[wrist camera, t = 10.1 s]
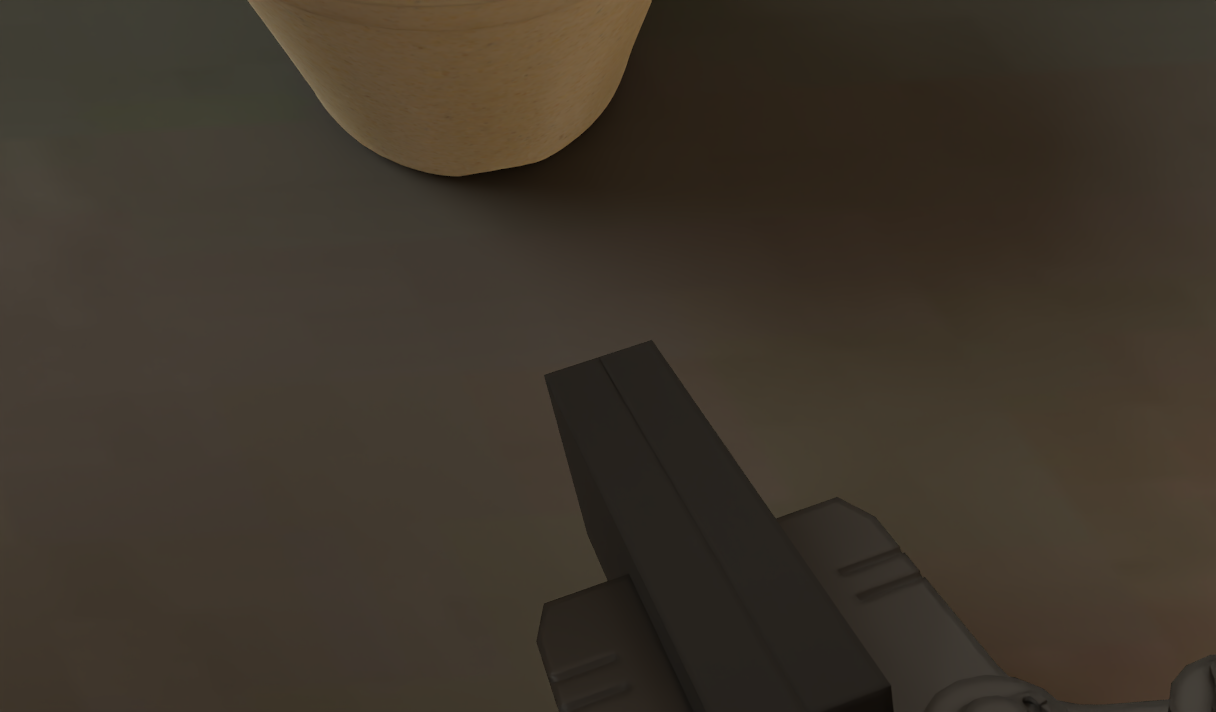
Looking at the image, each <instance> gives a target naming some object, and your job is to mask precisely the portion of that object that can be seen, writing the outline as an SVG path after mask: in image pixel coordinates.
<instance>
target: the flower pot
mask: <svg viewBox="0 0 1216 712" xmlns="http://www.w3.org/2000/svg"><path fill="white" fill-rule="evenodd" d="M247 1H248V2H249V3H250V5H251V6H252V7H253V9H254V10H255V11H256V13H257V14H258V15H259V17H260V18H261V19H262V21H263V22H264V23H265V25H266V26H267V27H268V29H269V30H270V31H271V33H272V34H273V35H274V37H275V38H276V40H277V41H278V42H279V44H280V45H281V46H282V48H283V49H284V50H285V52H286V53H287V55H288V56H289V57H290V59H291V60H292V62H293V63H294V64H295V66H296V67H297V69H298V70H299V71H300V73H301V74H302V76H303V77H304V78H305V80H306V81H307V82H308V84H309V85H310V86H311V88H312V89H313V91H314V92H315V94H316V96H317V97H318V99H319V100H320V102H321V103H322V105H323V106H324V107H325V109H326V110H327V111H328V113H329V114H330V115H331V116H332V117H333V118H334V119H335V120H336V122H337V123H338V124H339V125H340V126H341V127H342V128H343V129H344V130H345V131H346V132H347V133H349V134H350V135H351V136H352V137H354V138H355V139H356V140H357V141H358V142H360V143H361V144H363V145H364V146H366V147H367V148H369V149H370V150H372V151H374V152H375V153H377V154H379V155H380V156H383V157H385V158H387V159H389V160H392V161H394V162H396V163H398V164H400V165H403V166H406V167H409V168H412V169H416V170H419V171H423V172H427V173H432V174H438V175H444V176H464V175H470V174H476V173H482V172H489V171H494V170H499V169H505V168H511V167H517V166H522V165H526V164H531V163H536V162H539V161H541V160H544V159H546V158H548V157H549V156H551V155H553V154H555V153H556V152H558V151H560V150H561V149H563V148H564V147H565V146H567V145H568V144H570V143H571V142H572V141H573V140H575V139H576V138H577V137H579V136H580V135H581V134H582V133H583V132H584V131H585V130H586V129H588V128H589V127H590V126H591V125H592V124H593V122H594V121H595V120H596V119H597V118H598V117H599V116H600V115H601V113H602V112H603V111H604V109H605V108H606V107H607V105H608V104H609V102H610V101H611V99H612V97H613V96H614V94H615V92H616V90H617V88H618V86H619V83H620V81H621V78H622V76H623V73H624V71H625V68H626V65H627V62H628V59H629V56H630V53H631V50H632V48H633V45H634V42H635V40H636V38H637V35H638V33H639V30H640V28H641V26H642V23H643V21H644V19H645V16H646V14H647V11H648V9H649V7H650V4H651V2H652V0H247Z"/></svg>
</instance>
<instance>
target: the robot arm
mask: <svg viewBox="0 0 1216 712" xmlns="http://www.w3.org/2000/svg"><path fill="white" fill-rule="evenodd" d="M544 376H545V380H546V384H547V387H548V391H549V395H550V398H551V402H552V406H553V409H554V413H555V417H556V420H557V424H558V428H559V431H560V435H561V439H562V442H563V446H564V450H565V453H566V457H567V461H568V465H569V468H570V472H571V476H572V479H573V483H574V487H575V490H576V494H577V498H578V501H579V505H580V509H581V512H582V516H583V520H584V523H585V527H586V531H587V534H588V537H589V539H590V541H591V543H592V546H593V548H594V550H595V552H596V555H597V557H598V559H599V562H600V564H601V566H602V568H603V571H604V573H605V575H606V577H607V580H608V581H607V582H604V583H601V584H598V585H596V586H593V587H590V588H587V589H584V590H581V591H579V592H576V593H573V594H570V595H567V596H564V597H562V598H559V599H556V600H553V601H550V602H547V603H545V604H544V606H543V611H542V616H541V621H540V626H539V631H538V636H537V641H536V642H537V645H538V648H539V651H540V654H541V657H542V661H543V664H544V667H545V670H546V673H547V676H548V679H549V682H550V685H551V688H552V692H553V695H554V698H555V701H556V704H557V707H558V710H559V712H1216V654H1215V655H1209V656H1207V657H1205V658H1202V659H1200V660H1198V661H1195V662H1193V663H1191V664H1189V665H1186V666H1185V667H1184V669H1183V670H1182V671H1181V672H1180V673H1179V675H1178V676H1177V677H1176V678H1175V679H1174V681H1173V682H1172V683H1171V690H1170V699H1169V700H1157V701H1144V702H1132V703H1119V704H1107V705H1079V704H1073V703H1068V702H1063V701H1058V700H1056V699H1055V698H1054V697H1053V696H1052V695H1050V694H1049V693H1048V692H1047V691H1045V690H1044V689H1043V688H1041V687H1038V686H1035V685H1033V684H1030V683H1028V682H1025V681H1023V680H1020V679H1018V678H1015V677H1009V676H1008V675H1007V674H1006V673H1005V672H1004V671H1003V670H1002V669H1001V668H1000V667H999V666H998V665H997V664H996V663H995V662H994V661H993V659H992V658H991V657H990V656H989V655H988V653H987V652H986V651H985V650H984V648H983V647H982V646H981V645H980V644H979V642H978V641H977V640H976V639H975V638H974V636H973V635H972V634H971V633H970V631H969V630H968V629H967V628H966V627H965V625H964V624H963V623H962V622H961V621H960V619H959V618H958V617H957V616H956V614H955V613H954V612H953V611H952V610H951V608H950V607H949V606H948V605H947V604H946V602H945V601H944V600H943V599H942V597H941V596H940V595H939V594H938V593H937V591H936V590H935V589H934V588H933V587H932V585H931V584H930V583H929V582H928V580H927V579H926V578H925V577H924V578H922V576H921V574H920V571H919V570H918V568H917V567H916V566H915V565H914V563H913V562H912V561H911V560H910V559H909V557H908V556H907V555H906V554H905V553H902V552H901V550H900V547H899V545H898V544H897V543H896V542H895V540H894V539H893V538H892V537H891V536H890V534H889V533H888V532H887V531H886V530H885V528H884V527H883V526H882V525H881V523H880V522H879V521H878V520H877V519H876V517H874V516H872V515H870V514H868V513H867V512H865V511H863V510H861V509H859V508H857V507H855V506H853V505H851V504H850V503H848V502H846V501H844V500H842V499H840V498H838V497H836V498H833V499H830V500H827V501H825V502H822V503H819V504H816V505H813V506H810V507H808V508H805V509H802V510H799V511H796V512H794V513H791V514H788V515H785V516H782V517H779V518H777V519H775V517H774V516H773V514H772V513H771V511H770V510H769V509H768V507H767V506H766V504H765V503H764V501H763V500H762V498H761V497H760V496H759V494H758V493H757V491H756V490H755V488H754V487H753V485H752V484H751V483H750V481H749V480H748V478H747V477H746V475H745V474H744V472H743V471H742V470H741V468H740V467H739V465H738V464H737V462H736V461H735V459H734V458H733V457H732V455H731V454H730V452H729V451H728V449H727V448H726V446H725V445H724V444H723V442H722V441H721V439H720V438H719V436H718V435H717V433H716V432H715V431H714V429H713V428H712V426H711V425H710V423H709V422H708V420H707V419H706V418H705V416H704V415H703V413H702V412H701V410H700V409H699V407H698V406H697V405H696V403H695V402H694V400H693V399H692V397H691V396H690V394H689V393H688V392H687V390H686V389H685V387H684V386H683V384H682V383H681V381H680V380H679V379H678V377H677V376H676V374H675V373H674V371H673V370H672V369H671V367H670V366H669V364H668V363H667V361H666V360H665V358H664V357H663V356H662V354H661V353H660V351H659V350H658V348H657V347H656V345H655V344H654V343H653V341H652V340H651V341H647V342H644V343H641V344H638V345H635V346H632V347H629V348H626V349H623V350H620V351H617V352H614V353H611V354H607V355H604V356H601V357H598V358H595V359H592V360H589V361H586V362H583V363H580V364H577V365H574V366H570V367H567V368H564V369H561V370H558V371H555V372H552V373H549V374H546V375H544Z"/></svg>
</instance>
